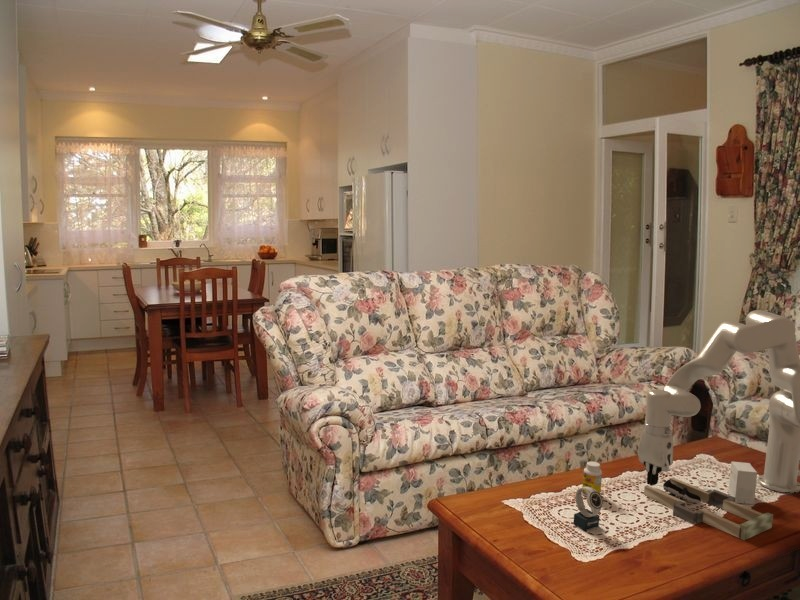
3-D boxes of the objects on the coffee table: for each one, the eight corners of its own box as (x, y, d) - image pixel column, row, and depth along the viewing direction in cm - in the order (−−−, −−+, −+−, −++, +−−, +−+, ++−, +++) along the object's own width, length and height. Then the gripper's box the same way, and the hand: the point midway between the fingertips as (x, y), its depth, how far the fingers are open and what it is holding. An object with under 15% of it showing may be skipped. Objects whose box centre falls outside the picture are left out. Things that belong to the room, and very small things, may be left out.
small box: (754, 505, 214) (757, 472, 212) (734, 503, 215) (738, 470, 213) (746, 494, 221) (750, 462, 220) (727, 492, 222) (731, 460, 221)
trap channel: (677, 483, 228) (679, 472, 227) (778, 524, 201) (779, 511, 200) (636, 498, 216) (637, 486, 215) (737, 543, 189) (738, 529, 189)
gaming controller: (667, 497, 222) (657, 485, 219) (675, 486, 223) (665, 474, 220) (695, 511, 213) (685, 499, 210) (703, 499, 214) (693, 487, 211)
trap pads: (713, 500, 216) (713, 499, 216) (728, 507, 212) (728, 506, 212) (678, 514, 206) (678, 513, 206) (693, 521, 202) (693, 520, 202)
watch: (590, 533, 193) (592, 496, 191) (568, 521, 199) (571, 485, 198) (604, 529, 195) (607, 492, 194) (583, 517, 202) (585, 481, 200)
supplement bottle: (578, 492, 219) (580, 461, 217) (592, 490, 221) (594, 459, 219) (589, 499, 214) (591, 468, 212) (604, 497, 216) (606, 465, 214)
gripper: (685, 434, 217) (679, 490, 219) (644, 420, 229) (640, 473, 232) (670, 438, 212) (665, 495, 215) (629, 424, 225) (625, 478, 228)
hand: (652, 483), depth 223 cm, fingers closed
